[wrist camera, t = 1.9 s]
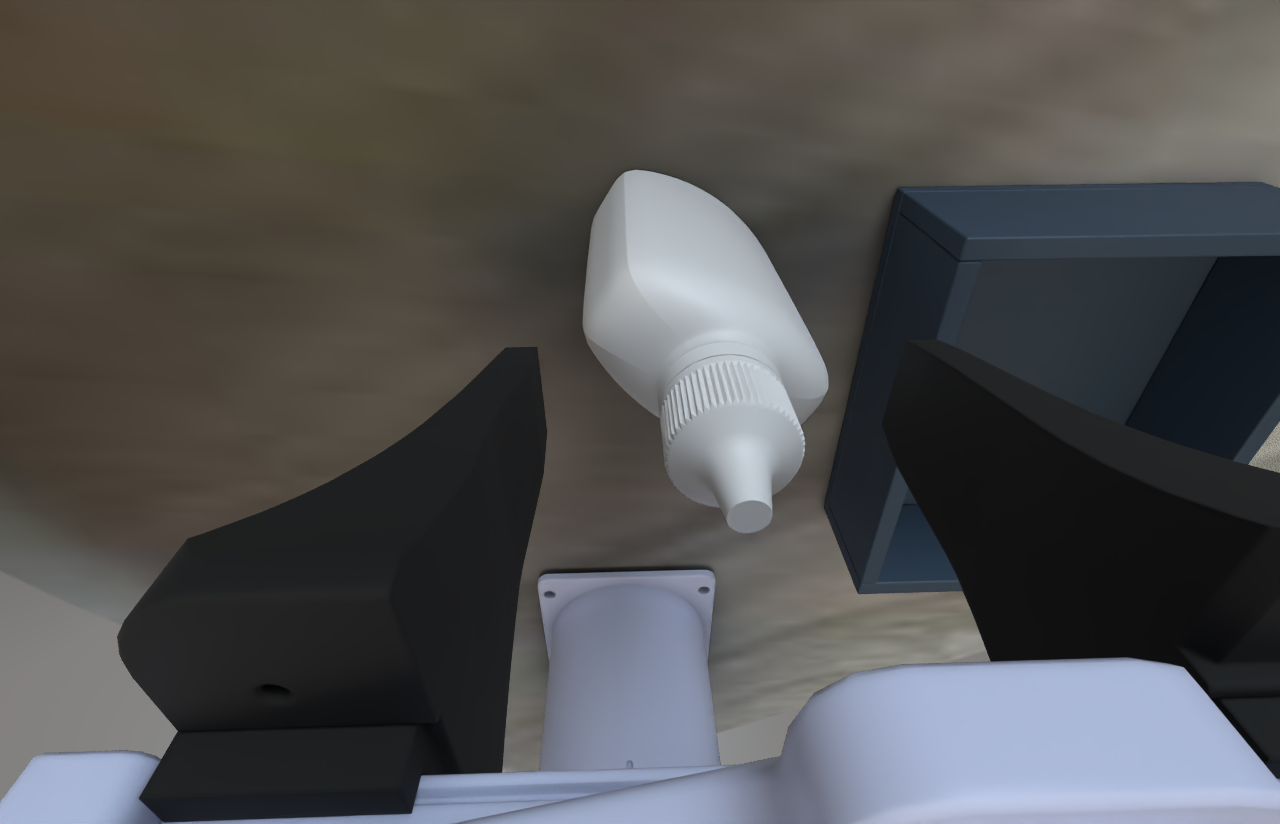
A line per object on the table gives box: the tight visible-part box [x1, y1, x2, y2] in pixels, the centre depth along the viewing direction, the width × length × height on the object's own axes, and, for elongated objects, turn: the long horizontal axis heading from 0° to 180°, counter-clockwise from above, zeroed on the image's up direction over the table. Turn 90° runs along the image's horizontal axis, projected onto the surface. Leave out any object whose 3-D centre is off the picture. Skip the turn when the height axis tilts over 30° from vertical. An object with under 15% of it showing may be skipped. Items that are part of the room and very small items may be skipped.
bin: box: [824, 182, 1280, 594], centre depth 20 cm, size 13×11×4 cm
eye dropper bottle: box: [583, 170, 829, 533], centre depth 14 cm, size 4×6×12 cm
